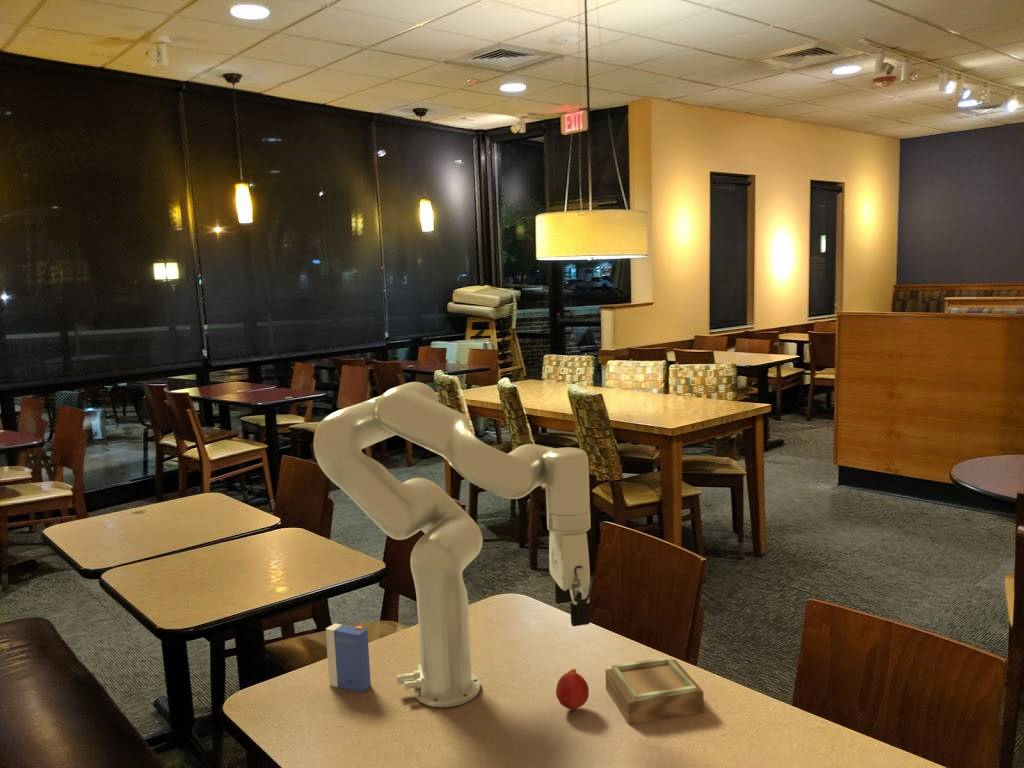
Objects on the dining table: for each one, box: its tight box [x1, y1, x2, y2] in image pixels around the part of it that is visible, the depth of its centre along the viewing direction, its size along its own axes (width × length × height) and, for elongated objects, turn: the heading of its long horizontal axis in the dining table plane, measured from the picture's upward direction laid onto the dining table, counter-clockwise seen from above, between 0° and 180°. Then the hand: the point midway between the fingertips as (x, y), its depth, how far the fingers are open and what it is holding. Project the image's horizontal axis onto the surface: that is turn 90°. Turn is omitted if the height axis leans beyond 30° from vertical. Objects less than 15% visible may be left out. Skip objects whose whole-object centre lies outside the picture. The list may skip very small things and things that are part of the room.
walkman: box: [325, 623, 372, 693], centre depth 152 cm, size 8×3×12 cm, turn 66°
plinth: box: [605, 656, 704, 726], centre depth 144 cm, size 14×12×5 cm
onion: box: [555, 667, 590, 712], centre depth 141 cm, size 6×6×8 cm
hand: (572, 613), depth 139 cm, fingers open, 9 cm apart
